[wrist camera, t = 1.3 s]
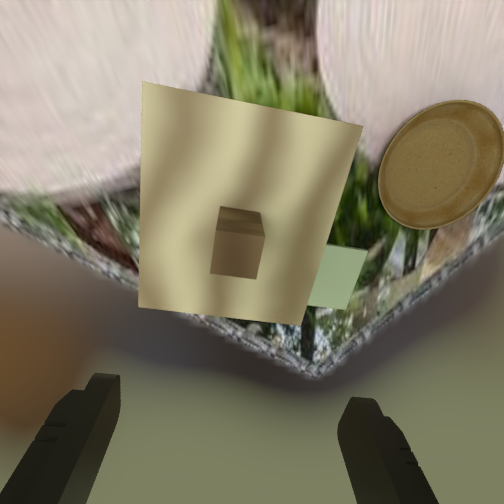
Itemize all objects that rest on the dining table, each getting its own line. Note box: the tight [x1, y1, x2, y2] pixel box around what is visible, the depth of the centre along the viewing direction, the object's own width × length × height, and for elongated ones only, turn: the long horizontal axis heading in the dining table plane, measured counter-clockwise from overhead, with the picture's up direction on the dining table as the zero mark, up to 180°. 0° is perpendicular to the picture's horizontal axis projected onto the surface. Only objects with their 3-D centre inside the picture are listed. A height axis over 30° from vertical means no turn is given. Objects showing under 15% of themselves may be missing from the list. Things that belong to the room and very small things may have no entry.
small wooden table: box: [138, 81, 363, 326], centre depth 29 cm, size 16×19×18 cm
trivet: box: [307, 243, 368, 310], centre depth 42 cm, size 10×10×1 cm
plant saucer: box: [378, 100, 504, 230], centre depth 35 cm, size 15×15×3 cm
